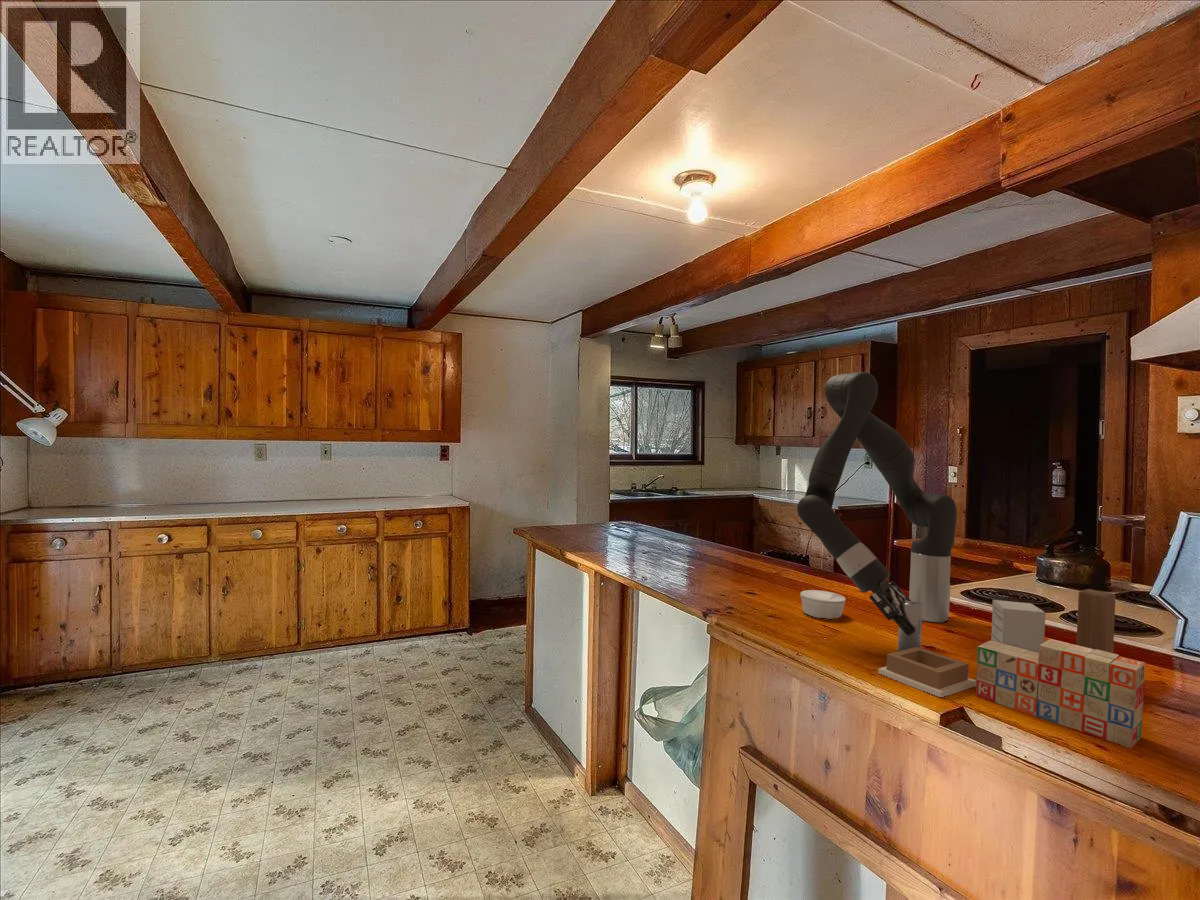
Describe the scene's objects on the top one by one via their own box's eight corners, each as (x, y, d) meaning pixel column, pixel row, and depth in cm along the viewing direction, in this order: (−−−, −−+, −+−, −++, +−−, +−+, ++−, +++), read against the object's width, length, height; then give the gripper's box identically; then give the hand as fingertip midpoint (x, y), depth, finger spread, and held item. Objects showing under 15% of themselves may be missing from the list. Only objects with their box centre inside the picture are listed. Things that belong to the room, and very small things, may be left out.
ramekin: (852, 622, 146) (852, 601, 146) (808, 620, 146) (809, 600, 146) (834, 609, 157) (835, 590, 157) (794, 608, 157) (794, 589, 157)
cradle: (913, 663, 118) (914, 644, 118) (975, 685, 108) (976, 664, 108) (878, 673, 112) (879, 653, 112) (940, 698, 102) (941, 675, 101)
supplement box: (1029, 661, 122) (1032, 602, 122) (1044, 674, 115) (1046, 612, 115) (989, 656, 124) (991, 598, 124) (1001, 668, 117) (1003, 607, 117)
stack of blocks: (974, 696, 103) (977, 629, 103) (988, 689, 107) (990, 623, 107) (1133, 750, 86) (1137, 669, 86) (1143, 738, 90) (1146, 661, 89)
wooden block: (1092, 674, 116) (1096, 586, 116) (1121, 682, 112) (1125, 591, 112) (1073, 682, 111) (1077, 590, 111) (1103, 691, 107) (1107, 596, 107)
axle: (905, 648, 127) (907, 599, 127) (924, 655, 123) (927, 604, 123) (893, 651, 125) (895, 601, 125) (913, 658, 121) (915, 607, 121)
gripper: (866, 561, 123) (924, 626, 116) (883, 553, 134) (937, 612, 127) (840, 581, 126) (894, 645, 119) (858, 572, 137) (909, 630, 130)
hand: (916, 628), depth 123 cm, fingers open, 8 cm apart
